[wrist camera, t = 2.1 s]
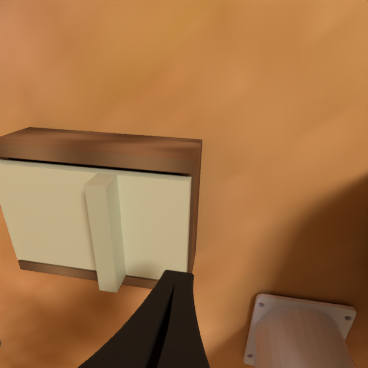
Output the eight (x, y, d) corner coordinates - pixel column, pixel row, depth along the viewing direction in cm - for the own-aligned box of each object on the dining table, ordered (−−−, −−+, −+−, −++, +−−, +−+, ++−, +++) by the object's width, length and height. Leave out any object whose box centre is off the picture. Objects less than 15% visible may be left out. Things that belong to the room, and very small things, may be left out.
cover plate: (191, 176, 15) (185, 195, 13) (186, 275, 18) (181, 302, 16) (-4, 159, 17) (-37, 172, 15) (23, 252, 20) (0, 274, 18)
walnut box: (202, 139, 18) (194, 160, 14) (195, 254, 22) (188, 294, 18) (29, 127, 20) (-19, 142, 16) (53, 236, 24) (20, 269, 20)
